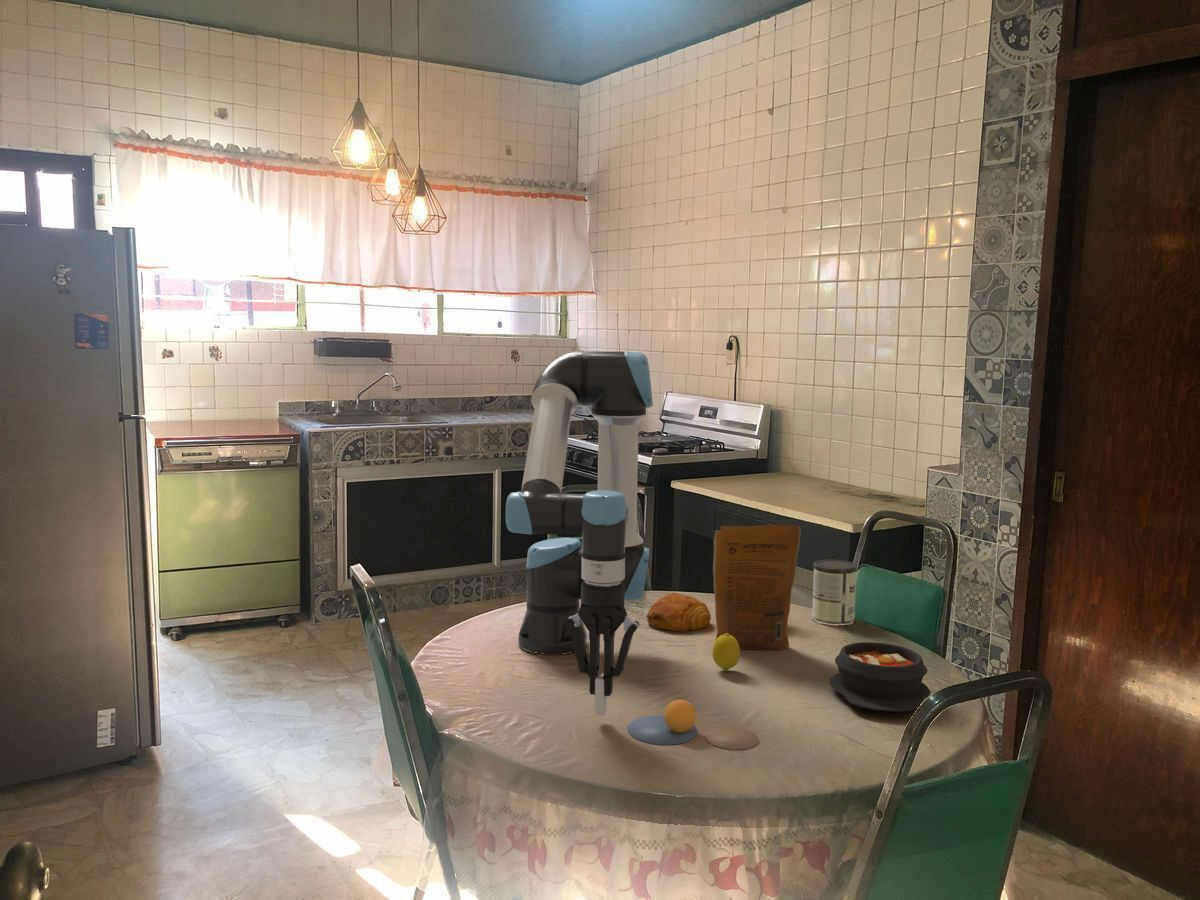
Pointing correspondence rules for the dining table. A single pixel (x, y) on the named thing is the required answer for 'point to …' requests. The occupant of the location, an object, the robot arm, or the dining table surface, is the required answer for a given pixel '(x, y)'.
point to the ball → (680, 716)
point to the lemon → (726, 651)
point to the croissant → (678, 613)
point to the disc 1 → (658, 731)
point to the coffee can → (834, 591)
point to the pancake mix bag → (755, 583)
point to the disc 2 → (732, 738)
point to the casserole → (880, 677)
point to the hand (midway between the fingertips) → (600, 712)
